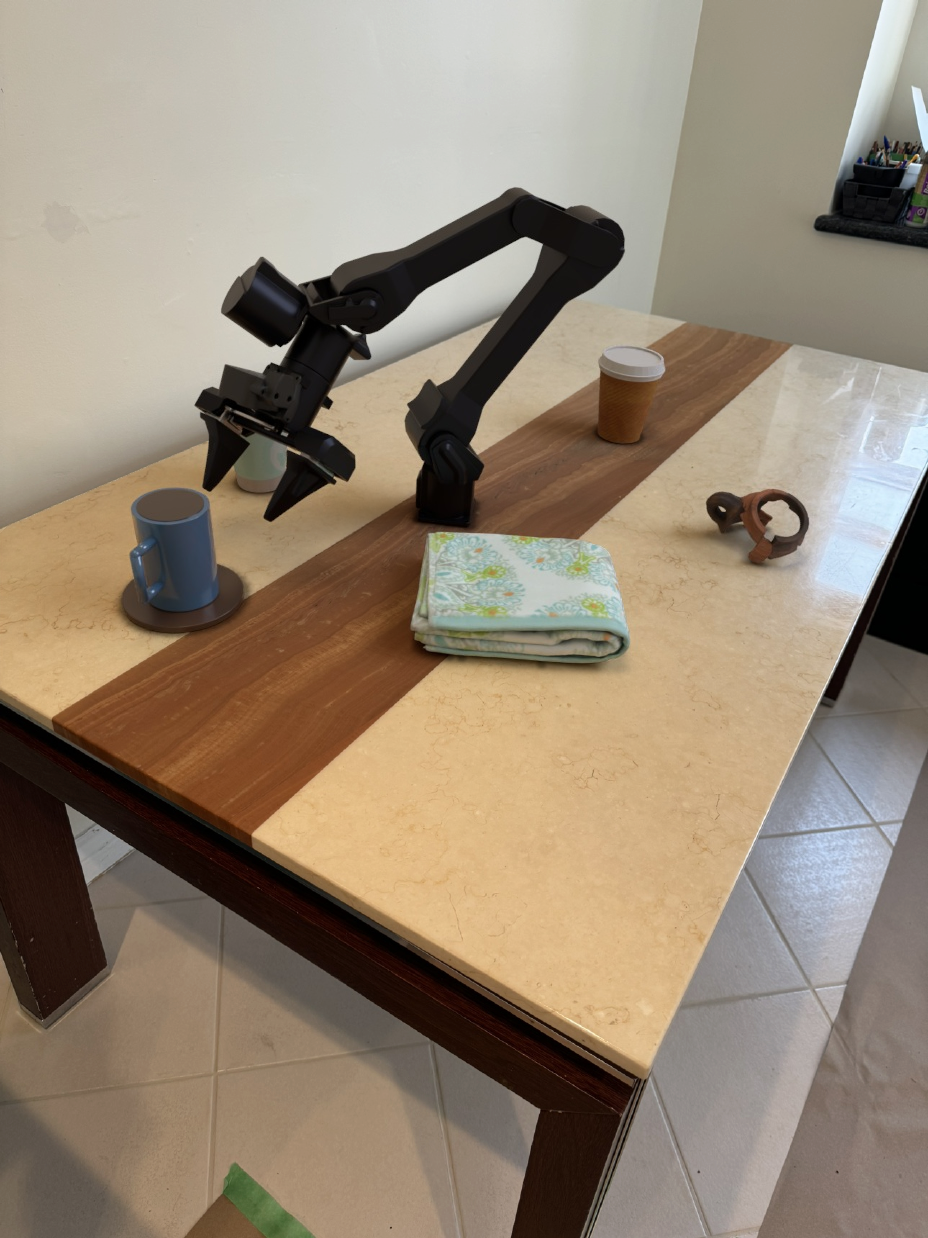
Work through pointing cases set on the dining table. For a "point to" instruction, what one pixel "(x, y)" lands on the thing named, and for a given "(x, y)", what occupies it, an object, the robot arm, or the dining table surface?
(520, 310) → the robot arm
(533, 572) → the towel
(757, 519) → the brown double ring bracket
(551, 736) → the dining table surface
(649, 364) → the disposable coffee cup
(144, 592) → the mug
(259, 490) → the coffee cup
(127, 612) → the coaster
